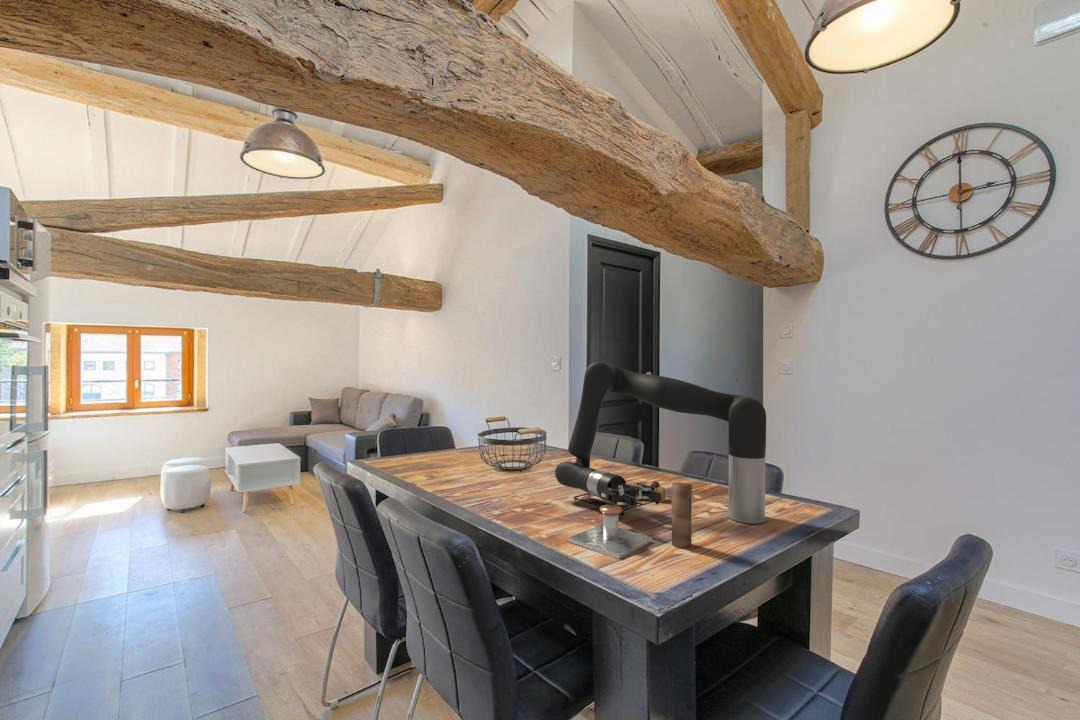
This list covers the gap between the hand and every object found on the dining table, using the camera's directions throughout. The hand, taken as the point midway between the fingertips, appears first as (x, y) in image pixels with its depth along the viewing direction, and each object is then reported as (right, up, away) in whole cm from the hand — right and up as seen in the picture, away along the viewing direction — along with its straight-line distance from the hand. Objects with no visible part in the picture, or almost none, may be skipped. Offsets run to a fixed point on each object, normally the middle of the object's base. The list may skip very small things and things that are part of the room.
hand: (647, 500), depth 122 cm
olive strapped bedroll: (+9, -9, +36) cm, 38 cm away
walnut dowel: (+6, -8, -9) cm, 13 cm away
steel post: (-11, -8, -8) cm, 15 cm away
